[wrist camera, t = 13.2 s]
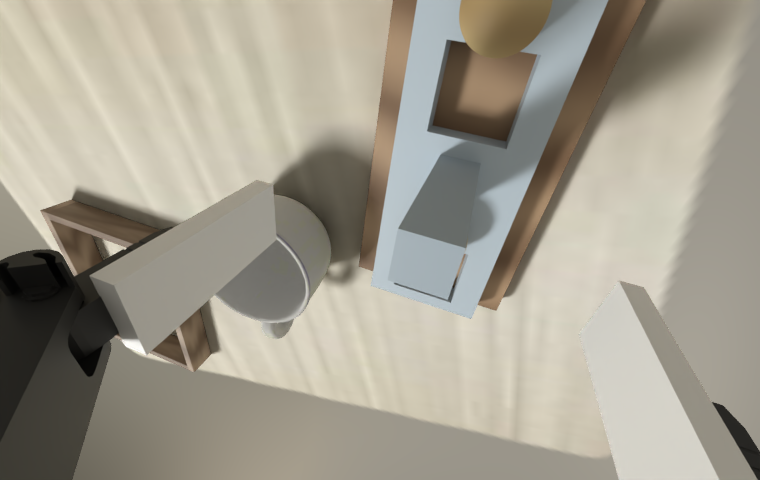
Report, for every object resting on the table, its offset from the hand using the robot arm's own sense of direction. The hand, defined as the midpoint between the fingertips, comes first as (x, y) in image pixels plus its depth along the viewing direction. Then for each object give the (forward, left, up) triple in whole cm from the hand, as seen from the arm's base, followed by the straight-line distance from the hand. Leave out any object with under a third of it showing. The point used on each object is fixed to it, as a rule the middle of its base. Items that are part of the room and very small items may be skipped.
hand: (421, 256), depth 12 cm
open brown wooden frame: (+29, -39, -14) cm, 50 cm away
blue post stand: (-1, 0, -12) cm, 13 cm away
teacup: (+13, -14, -14) cm, 24 cm away
